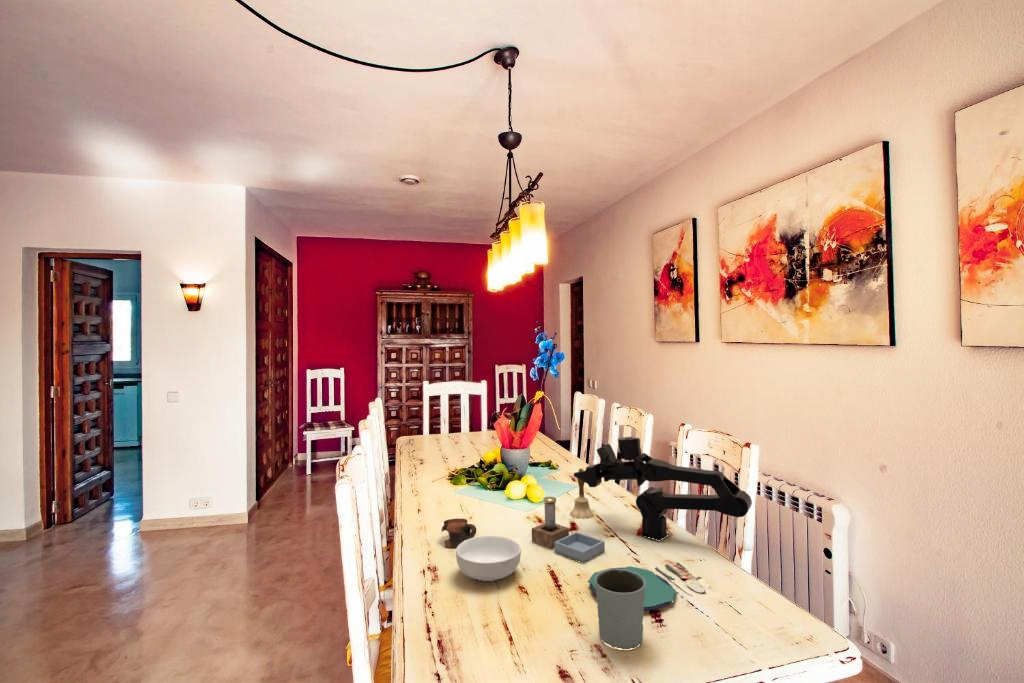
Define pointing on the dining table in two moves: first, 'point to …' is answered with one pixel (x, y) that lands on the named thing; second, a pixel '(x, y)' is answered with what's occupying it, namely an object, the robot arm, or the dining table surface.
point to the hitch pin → (550, 514)
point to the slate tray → (579, 547)
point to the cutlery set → (650, 587)
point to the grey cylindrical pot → (620, 607)
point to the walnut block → (548, 535)
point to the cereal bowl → (488, 557)
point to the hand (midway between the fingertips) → (580, 471)
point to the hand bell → (581, 503)
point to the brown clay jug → (458, 531)
